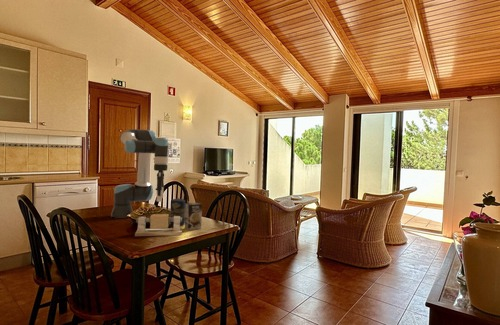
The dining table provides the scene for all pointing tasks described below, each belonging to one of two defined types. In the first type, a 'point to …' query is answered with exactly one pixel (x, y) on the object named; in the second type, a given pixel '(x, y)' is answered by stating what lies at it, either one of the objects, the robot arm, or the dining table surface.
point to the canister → (177, 209)
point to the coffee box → (193, 216)
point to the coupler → (159, 221)
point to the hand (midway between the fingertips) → (160, 199)
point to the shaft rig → (157, 232)
